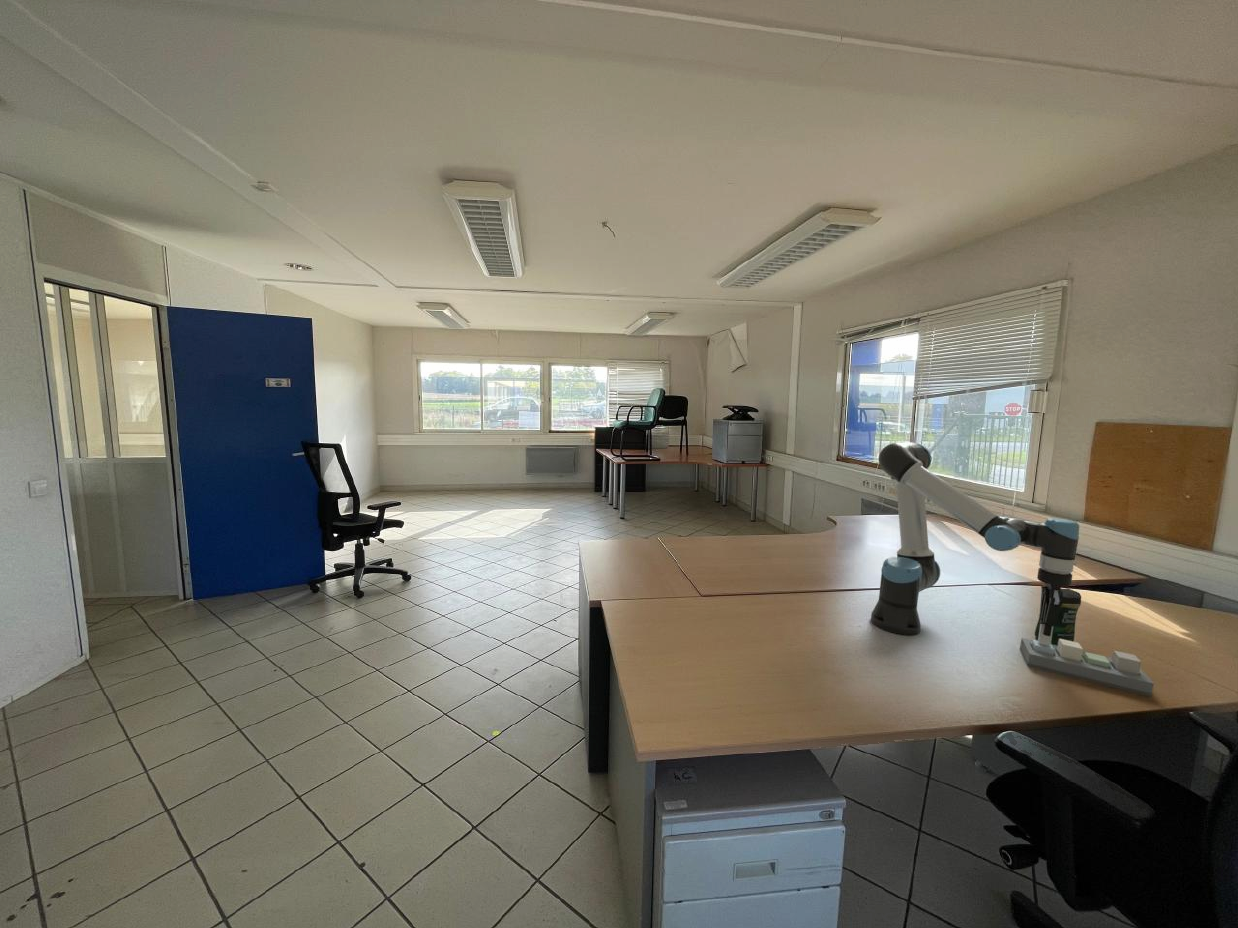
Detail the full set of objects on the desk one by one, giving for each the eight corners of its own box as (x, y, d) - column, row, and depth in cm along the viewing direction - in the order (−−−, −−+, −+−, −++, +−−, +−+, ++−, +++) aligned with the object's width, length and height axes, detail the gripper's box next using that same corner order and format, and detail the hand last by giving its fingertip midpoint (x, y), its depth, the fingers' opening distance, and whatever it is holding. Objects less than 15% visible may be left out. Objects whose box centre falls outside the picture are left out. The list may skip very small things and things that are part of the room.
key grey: (1116, 670, 134) (1119, 657, 133) (1111, 663, 138) (1113, 650, 137) (1138, 675, 132) (1141, 661, 131) (1132, 667, 135) (1134, 655, 135)
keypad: (1027, 666, 142) (1029, 653, 141) (1019, 649, 152) (1021, 637, 151) (1151, 696, 128) (1153, 683, 127) (1133, 675, 138) (1135, 663, 138)
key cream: (1060, 656, 140) (1062, 644, 140) (1056, 650, 144) (1058, 638, 143) (1080, 661, 138) (1082, 648, 137) (1076, 655, 142) (1078, 642, 141)
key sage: (1086, 670, 137) (1089, 658, 137) (1082, 664, 141) (1084, 651, 141) (1107, 675, 135) (1109, 662, 135) (1102, 668, 139) (1104, 656, 138)
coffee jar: (1051, 647, 154) (1060, 593, 151) (1029, 635, 161) (1037, 584, 159) (1079, 647, 154) (1088, 594, 152) (1055, 635, 162) (1064, 584, 159)
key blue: (1033, 657, 144) (1035, 645, 143) (1030, 651, 147) (1032, 639, 147) (1052, 661, 141) (1054, 649, 141) (1048, 655, 145) (1050, 643, 144)
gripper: (1079, 579, 133) (1066, 656, 136) (1066, 566, 144) (1054, 638, 147) (1044, 573, 137) (1032, 649, 140) (1034, 561, 148) (1023, 632, 151)
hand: (1043, 643), depth 144 cm, fingers closed
